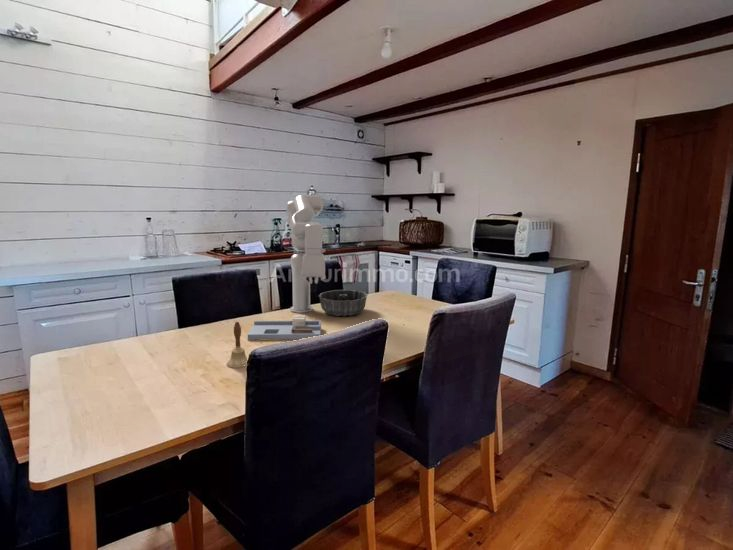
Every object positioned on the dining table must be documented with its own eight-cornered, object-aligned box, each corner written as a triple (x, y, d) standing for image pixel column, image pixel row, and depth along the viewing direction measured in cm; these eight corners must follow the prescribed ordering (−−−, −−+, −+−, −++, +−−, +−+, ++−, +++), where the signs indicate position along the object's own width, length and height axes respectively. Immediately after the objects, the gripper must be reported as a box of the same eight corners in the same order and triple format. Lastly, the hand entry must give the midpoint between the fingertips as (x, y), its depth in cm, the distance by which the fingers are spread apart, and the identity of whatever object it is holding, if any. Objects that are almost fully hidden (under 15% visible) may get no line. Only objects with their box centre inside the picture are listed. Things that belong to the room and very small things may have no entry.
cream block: (293, 324, 183) (293, 315, 182) (305, 324, 183) (305, 315, 182) (292, 328, 177) (292, 318, 177) (304, 328, 178) (304, 318, 177)
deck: (254, 329, 183) (254, 320, 182) (321, 328, 186) (321, 320, 185) (247, 340, 168) (247, 331, 168) (320, 339, 171) (320, 330, 170)
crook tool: (292, 330, 174) (292, 327, 174) (312, 330, 175) (312, 327, 175) (291, 332, 171) (291, 329, 171) (312, 332, 172) (312, 329, 172)
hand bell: (255, 362, 146) (253, 321, 143) (237, 370, 139) (235, 327, 136) (239, 357, 150) (237, 317, 147) (221, 364, 143) (219, 322, 140)
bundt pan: (310, 316, 206) (310, 297, 204) (329, 304, 231) (329, 287, 229) (358, 321, 198) (358, 302, 197) (372, 308, 223) (373, 291, 221)
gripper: (330, 250, 179) (330, 290, 182) (297, 250, 178) (298, 289, 181) (330, 252, 171) (330, 293, 175) (295, 252, 170) (296, 293, 174)
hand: (313, 291), depth 178 cm, fingers closed
